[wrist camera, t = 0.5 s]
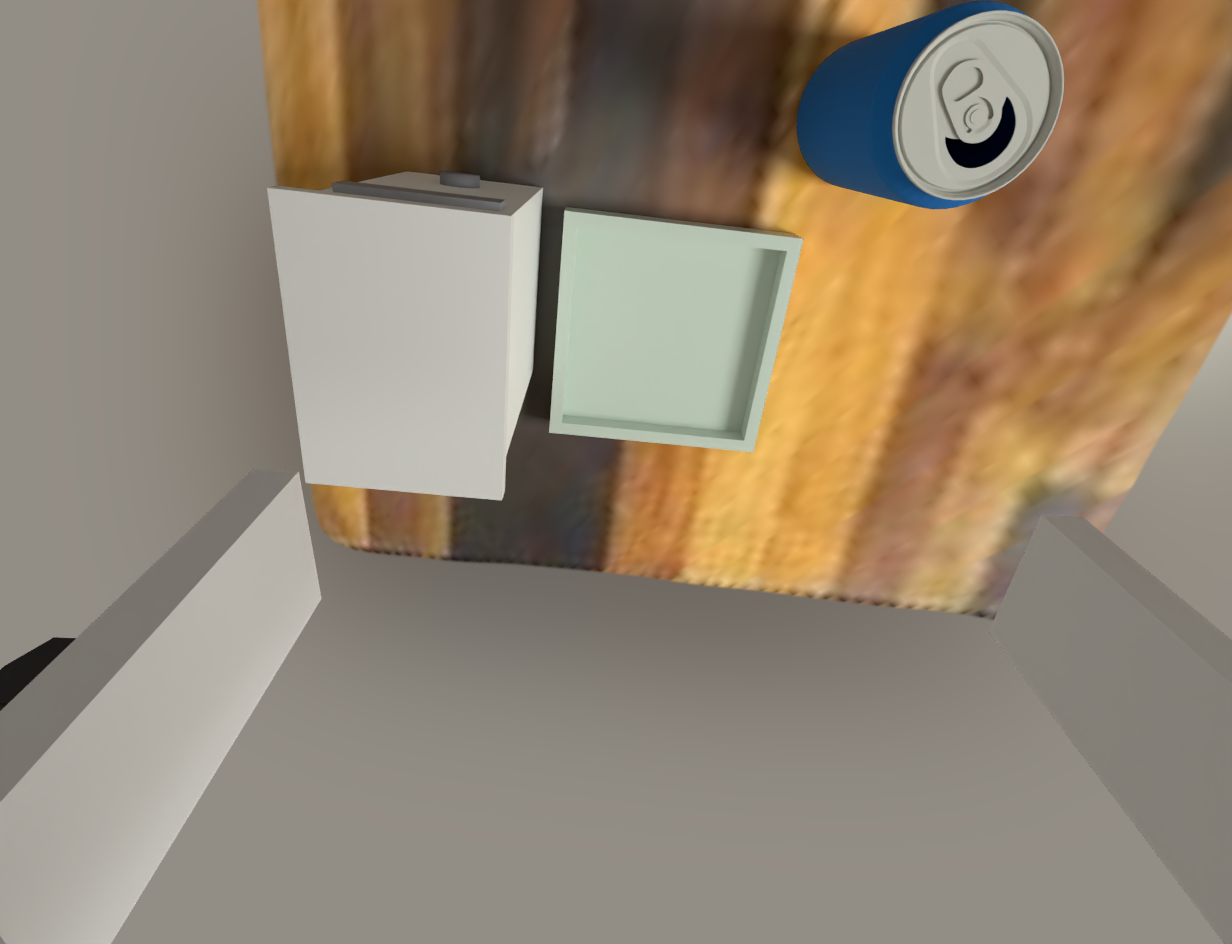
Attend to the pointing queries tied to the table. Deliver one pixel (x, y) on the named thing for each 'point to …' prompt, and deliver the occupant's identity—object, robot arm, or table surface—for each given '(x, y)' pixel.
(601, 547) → the table surface
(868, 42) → the beverage can
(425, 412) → the block
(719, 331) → the tray
